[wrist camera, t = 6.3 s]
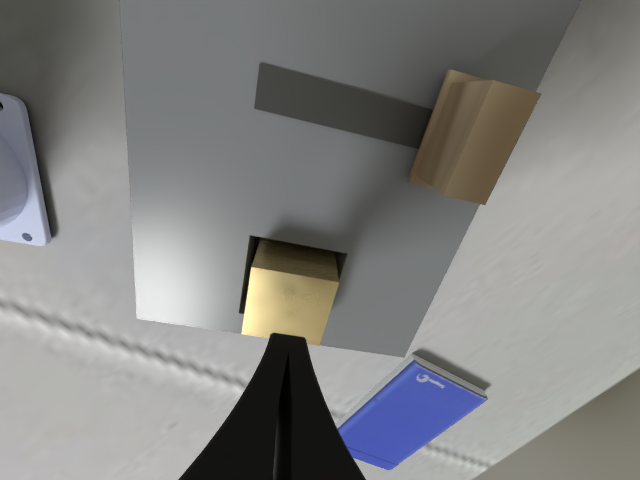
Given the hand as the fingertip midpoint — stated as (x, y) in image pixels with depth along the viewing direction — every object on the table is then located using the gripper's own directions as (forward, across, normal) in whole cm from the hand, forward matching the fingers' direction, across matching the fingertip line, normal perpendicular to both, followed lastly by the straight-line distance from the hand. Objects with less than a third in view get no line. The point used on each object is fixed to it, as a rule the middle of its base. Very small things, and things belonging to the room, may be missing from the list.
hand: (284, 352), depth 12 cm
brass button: (+6, 0, 0) cm, 6 cm away
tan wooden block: (+4, -5, -9) cm, 11 cm away
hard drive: (+8, -12, +14) cm, 20 cm away
